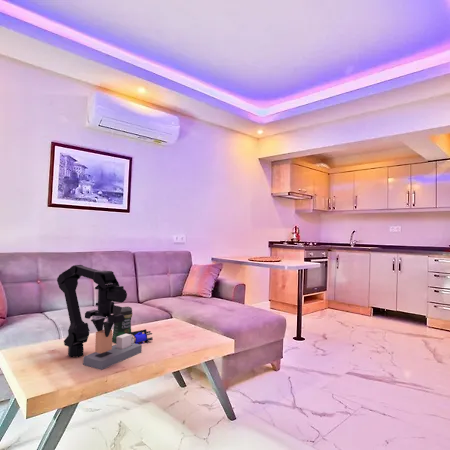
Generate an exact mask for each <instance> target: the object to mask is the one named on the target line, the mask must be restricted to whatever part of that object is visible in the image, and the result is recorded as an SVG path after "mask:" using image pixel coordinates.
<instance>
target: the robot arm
mask: <svg viewBox="0 0 450 450" xmlns="http://www.w3.org/2000/svg"><path fill="white" fill-rule="evenodd" d="M81 277H84V278H87V279H90V280H92V281H93V283H95V284H96V286H95V287H94V290H97V302H95V306H97V309H91V310H88V311H85V313H84V319H87V320H89V319H91V320H90V321H91V322H92V323H93V325H94V327H95V329H96V332H98V331H101V330H104V331H105V335H106V337H108V336H109V333H110V331H111V330H112V329H113V327H114V323H119V322H122V321H125V316H124V315H123V314H120V313H121V310H122V307H123V306H119V305H116V304H115V302H116V303H121V304H122V303H125V302H126V300H127V298H128V293H127V290H126V289H124V286H123V285H120V284H119V281H118V279H117V277H116V275H115V274H114V271H112V270H98V269H94V268H91V267H87V266H84V265H83V264H74V265H72V266H71V267H70V268H68V269H66V270H65V271H63V272H62V273H60V274H59V275H58V276H57V278H56V281H57V285H58V288H59V289H60V290H61V291H62V293H63V294H64V299H65V303H66V309H67V313H68V318H69V322H70V323H69V324H70V325H69V327H68V330H67V332H68V335H67V336H66V337H65V338H64V340H63V345H64V346H66V347H68V348H67V356H65V358H66V357H69V358H81V357H84V343H87V342H88V339H89V336H90V328H89V323H88V322H85V321H83V318H82V314H81V309H80V304H79V300H78V295H77V291H76V290H77V287H78V286H79V285H78V284H79V281H78V280H79V279H81ZM115 313H117V314H115ZM118 313H119V314H118ZM105 320H106V321H105Z"/></svg>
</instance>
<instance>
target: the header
mask: <svg viewBox="0 0 450 450" xmlns="http://www.w3.org/2000/svg"><path fill="white" fill-rule="evenodd" d="M142 345H143V344H140V343H138V344H135V343H131V346H130V347H127V348H125V349H122V350H121V349H117V348H116V344H114V345H113V344H112V350H109V351H106V352H104V353H97V352H95V351H94V352H92V353H89V354H87V355H83V356H82V357H83V358H82V359H83V360H82V365H83V366H86V367H91V368H93V369H97V370H101V371H102V370H105V369H107V368H109V367H111V366H113V365H116V364H118V363H120V362H123V361H124V360H127V359H129V358H132V357H134V356H137V355H138V354H141V353H142V351H143V348H142V347H143V346H142Z"/></svg>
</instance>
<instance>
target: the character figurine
mask: <svg viewBox="0 0 450 450" xmlns="http://www.w3.org/2000/svg"><path fill="white" fill-rule="evenodd" d="M126 334H131V343H135V344H139V343H141V344H140V345H143V344H145V343H149V341H153V337H152V336H151V337H148V336H150V335H153V333H152V332H151V330H148V331H147V329H145V328H144V329H142V330H135V331H131V332H129V333H126Z"/></svg>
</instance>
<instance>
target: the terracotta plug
mask: <svg viewBox="0 0 450 450" xmlns="http://www.w3.org/2000/svg"><path fill="white" fill-rule="evenodd" d="M112 336H113V329H111V331H110V333H109V336H108V337H106V335H105V331H104V329H103V330H101V331H96V332H95V343H94V344H95V346H94V347H95V351H94V352H97V353H104V352H106V351H109V350H112V346H113V342H112Z"/></svg>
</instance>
